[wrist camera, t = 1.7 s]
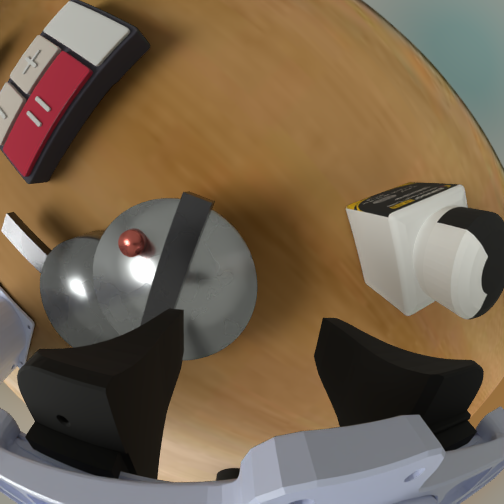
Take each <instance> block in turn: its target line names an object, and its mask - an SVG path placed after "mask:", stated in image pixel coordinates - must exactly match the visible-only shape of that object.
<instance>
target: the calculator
mask: <svg viewBox="0 0 504 504" xmlns="http://www.w3.org/2000/svg"><path fill="white" fill-rule="evenodd" d="M149 48H150V44H149V43H148V41H147V40H146V39H145V37H144V36H143V35H142V33H141V32H140V31H139V30H138V28H136V27H135V26H133V25H131V24H129V23H127V22H125V21H123V20H121V19H119V18H117V17H115V16H113V15H111V14H109V13H107V12H105V11H103V10H101V9H98V8H96V7H94V6H92V5H89V4H87V3H85V2H82V1H80V0H70V1H69V2H68V3H67V4H66V5H65V6H64V7H63V8H62V9H61V10H60V11H59V12H58V13H57V14H56V16H55V17H54V18H53V19H52V20H51V21H50V22H49V24H48V25H47V26H46V27H45V29H44V30H43V32H42V33H41V34H40V35H38V36H37V37H36V38H35V39H34V41H33V42H32V43H31V45H30V46H29V47H28V49H27V50H26V52H25V53H24V54H23V56H22V57H21V59H20V60H19V62H18V63H17V65H16V66H15V68H14V70H13V71H12V73H11V75H10V79H9V81H8V82H6V83H5V85H4V86H3V88H2V90H1V92H0V149H1V151H2V152H3V153H4V155H5V156H6V157H7V159H8V160H9V161H10V162H11V164H12V165H13V166H14V168H15V169H16V170H17V171H18V173H19V174H20V175H21V176H22V177H23V179H24V180H25V181H26V182H27V183H28V184H34V183H43V182H47V181H48V180H49V179H50V177H51V175H52V173H53V172H54V170H55V168H56V166H57V165H58V163H59V161H60V160H61V158H62V156H63V155H64V153H65V152H66V150H67V148H68V147H69V145H70V144H71V142H72V141H73V139H74V138H75V136H76V135H77V133H78V132H79V130H80V129H81V127H82V126H83V124H84V123H85V121H86V120H87V118H88V117H89V116H90V114H91V113H92V111H93V110H94V109H95V107H96V106H97V105H98V103H99V102H100V101H101V99H102V98H103V97H104V95H105V94H106V93H107V92H108V90H109V89H110V88H111V87H112V85H114V84H115V83H116V82H118V81H119V80H120V79H121V77H122V76H123V75H124V74H125V73H126V72H127V71H128V70H129V69H130V68H131V67H132V66H133V65H134V64H135V63H136V62H137V60H138V59H139V58H140V57H141V56H142V55H144V54H145V53H146V52H147V51H148V50H149Z"/></svg>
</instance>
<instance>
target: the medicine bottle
mask: <svg viewBox="0 0 504 504" xmlns="http://www.w3.org/2000/svg"><path fill="white" fill-rule="evenodd" d="M346 212H347V215H348V219H349V222H350V226H351V229H352V233H353V236H354V240H355V244H356V248H357V252H358V255H359V259H360V264H361V268H362V272H363V276H364V281H365V283H366V284H367V285H368V286H369V287H371V288H372V289H373V290H375V291H376V292H377V293H378V294H380V295H381V296H382V297H384V298H385V299H386V300H387V301H389V302H390V303H391V304H392V305H394V306H395V307H396V308H397V309H399V310H400V311H401V312H402V313H404V314H405V315H407V316H410V315H412V314H414V313H416V312H417V311H419V310H421V309H423V308H424V307H426V306H428V305H429V304H431V303H433V302H434V301H437V302H438V303H440V304H441V305H443V306H445V307H446V308H448V309H449V310H451V311H452V312H454V313H455V314H457V315H458V316H460V317H462V318H464V319H473V318H476V317H479V316H481V315H483V314H484V313H486V312H487V311H488V310H489V309H490V308H491V307H492V306H493V305H494V304H495V302H496V301H497V300H498V298H499V296H500V295H501V293H502V291H503V289H504V221H503V220H502V218H501V217H500V216H499V215H498V214H496V213H493V212H489V211H484V210H478V209H472V208H468V206H467V200H466V194H465V189H464V187H463V186H462V185H457V184H439V183H411V182H409V183H407V184H404V185H401V186H398V187H396V188H393V189H390V190H388V191H385V192H382V193H379V194H377V195H374V196H371V197H369V198H366V199H363V200H360V201H358V202H355V203H352V204H350V205H348V206H347V207H346Z"/></svg>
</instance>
